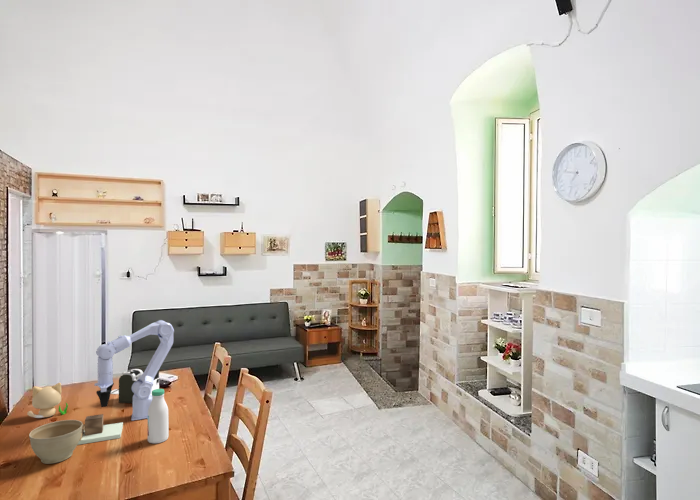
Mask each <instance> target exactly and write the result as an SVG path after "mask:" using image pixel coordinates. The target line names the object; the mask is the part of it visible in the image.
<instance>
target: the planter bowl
mask: <svg viewBox="0 0 700 500" xmlns="http://www.w3.org/2000/svg"><path fill="white" fill-rule="evenodd" d="M83 425H84V424H83V421H81V420H78V419H63V420H57V421H54V422H52V421H51V422H49V423H45V424H43V425H40V426H38V427H36V428H34V429H32V430H31V431H30V433H29V434H28V435H29V436H28V437H29V440H30V441H29V443H30V446H31V449H32V451H33V453H34V454H35V456H36V457H38V458H39V459H40V461H41V463H43V464H45V465H50V464H52V465H53V464H57V463H61V462H63V461H65V460H68V459H69V458H71V456H73V453H74V450H75V449H76V448H77V446H78V445H77V444H78V442H79V440H80V437H81V433H82V426H83Z"/></svg>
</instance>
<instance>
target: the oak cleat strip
mask: <svg viewBox="0 0 700 500" xmlns="http://www.w3.org/2000/svg"><path fill="white" fill-rule="evenodd" d="M84 431H85V423H84V424H83V426H82V433H81V437H80V440H79V441H81V439H82V436H83V434H84Z"/></svg>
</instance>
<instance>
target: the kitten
mask: <svg viewBox="0 0 700 500" xmlns="http://www.w3.org/2000/svg"><path fill="white" fill-rule="evenodd" d="M31 396H32V400H31V401H32V402H31V405H32V407H33V408H34V409H38V410H39V411H38V414H36V413H34V412H33V411H32V410H29V411H27V413H26V414H27V416H28V417H31V418H36V419H42V418H45V419H46V418H49V417H52V416H54V415H56V411H57V410H56V406H58V405H59V406H58V412H59V414H60V415H65V414H67V413H68V412H67V410H68V409H69V408H68V407H69V404H68V403H67V402H65V407H64V409H63V410H62V409H61V405H60V403H61V402H62V383H61V382H58V383H56V384H54V385H52V386H51V385H47V386H43V387H40V386H36V385H35V386H34V385H33V387H32V395H31Z"/></svg>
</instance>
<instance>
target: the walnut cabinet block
mask: <svg viewBox="0 0 700 500" xmlns="http://www.w3.org/2000/svg"><path fill="white" fill-rule="evenodd" d="M84 424H85V435H92V434H98V433H102V432H103V425H104V414H103V413H99V414H93V415H88V416H85V419H84Z"/></svg>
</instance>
